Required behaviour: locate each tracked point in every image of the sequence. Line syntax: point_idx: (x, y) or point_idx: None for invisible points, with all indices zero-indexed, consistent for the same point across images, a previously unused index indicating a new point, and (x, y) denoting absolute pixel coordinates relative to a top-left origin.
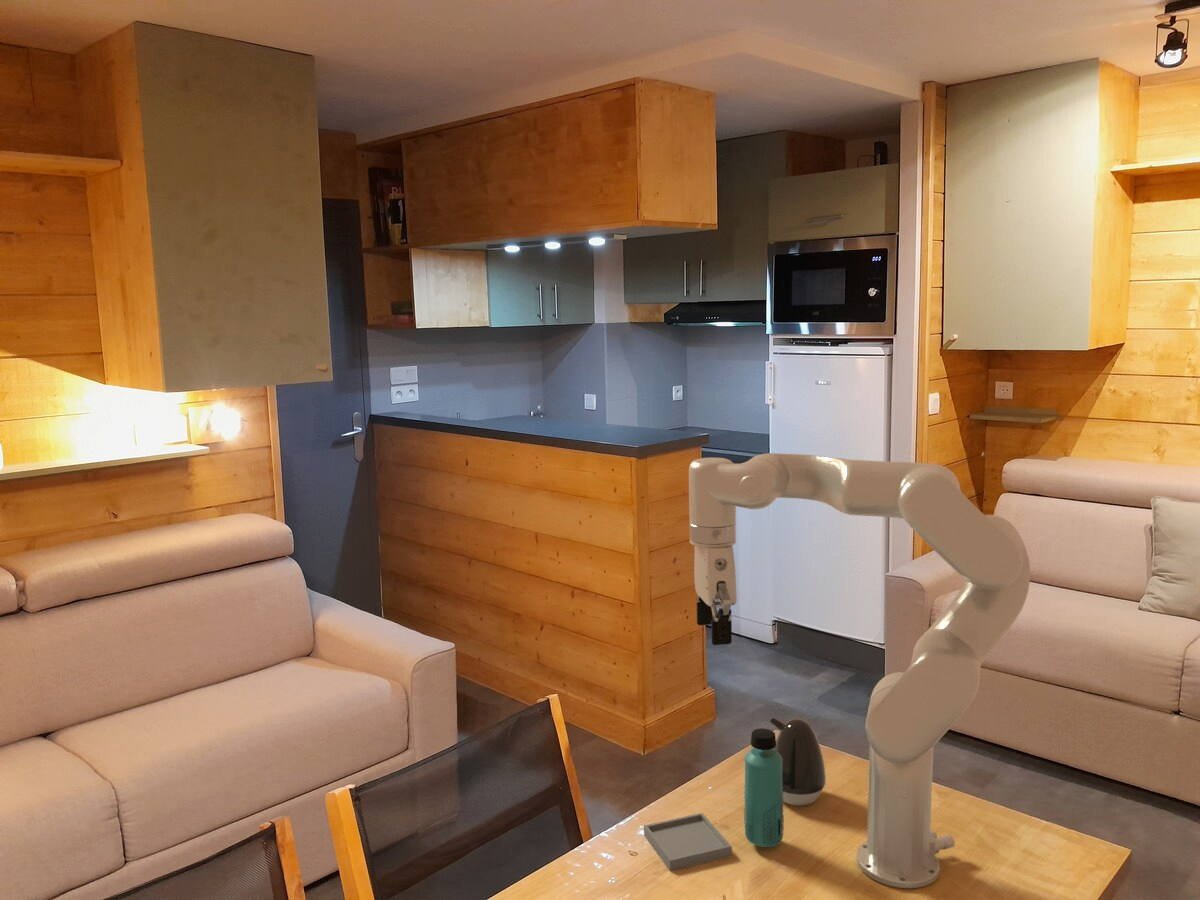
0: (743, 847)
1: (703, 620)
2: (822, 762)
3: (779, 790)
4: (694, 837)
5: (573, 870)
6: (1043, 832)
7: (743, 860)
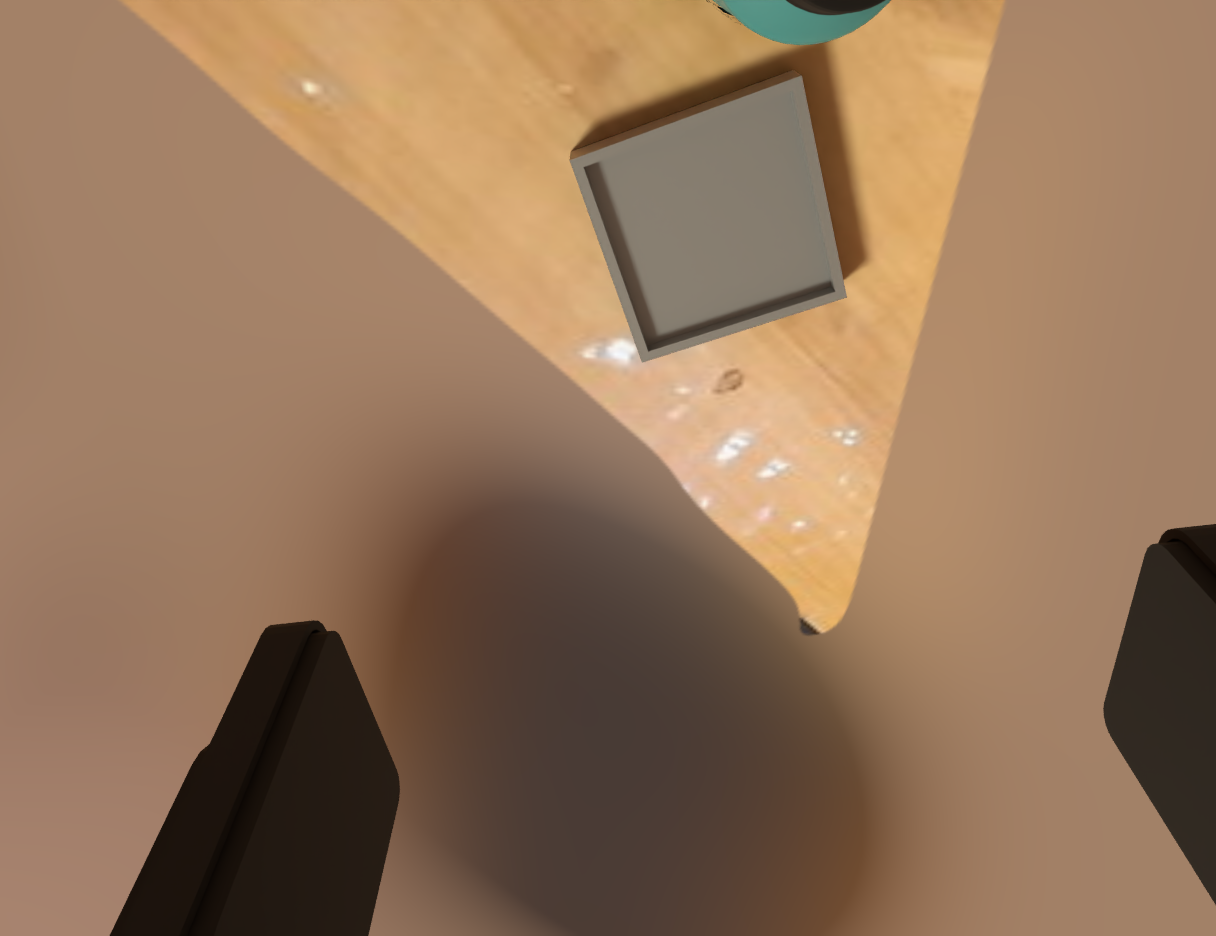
0: None
1: (371, 792)
2: None
3: None
4: (700, 199)
5: (788, 521)
6: None
7: None
